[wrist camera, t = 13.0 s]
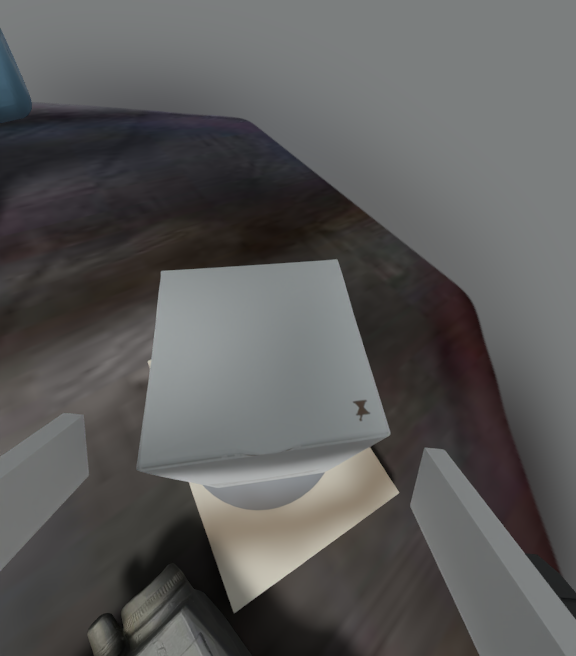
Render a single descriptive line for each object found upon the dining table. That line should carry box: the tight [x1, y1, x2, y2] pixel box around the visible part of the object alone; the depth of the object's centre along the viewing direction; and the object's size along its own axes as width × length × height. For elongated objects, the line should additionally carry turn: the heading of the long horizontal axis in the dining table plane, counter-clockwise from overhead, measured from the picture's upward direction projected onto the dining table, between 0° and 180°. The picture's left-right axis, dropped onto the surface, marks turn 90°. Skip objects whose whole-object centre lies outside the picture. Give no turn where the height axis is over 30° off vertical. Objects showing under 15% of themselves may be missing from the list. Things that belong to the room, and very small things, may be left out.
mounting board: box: [148, 360, 399, 613], centre depth 25 cm, size 20×14×1 cm
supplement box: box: [137, 259, 390, 488], centre depth 18 cm, size 9×9×15 cm
